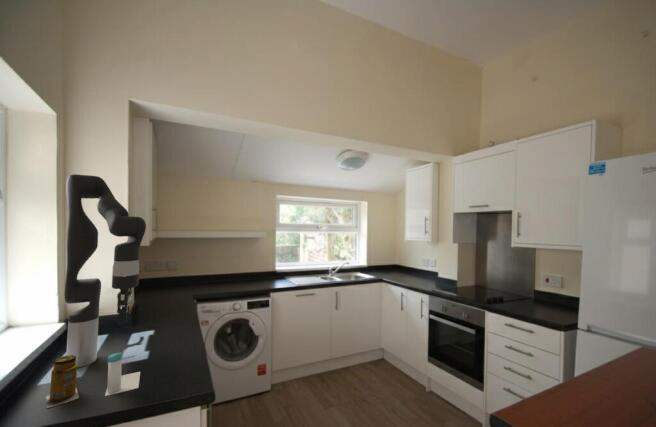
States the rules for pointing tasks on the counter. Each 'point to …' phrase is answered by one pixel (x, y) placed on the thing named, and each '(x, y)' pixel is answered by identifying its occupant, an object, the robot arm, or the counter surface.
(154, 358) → the counter surface
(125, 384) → the paper
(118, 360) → the white bottle
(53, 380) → the condiment
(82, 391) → the counter surface
